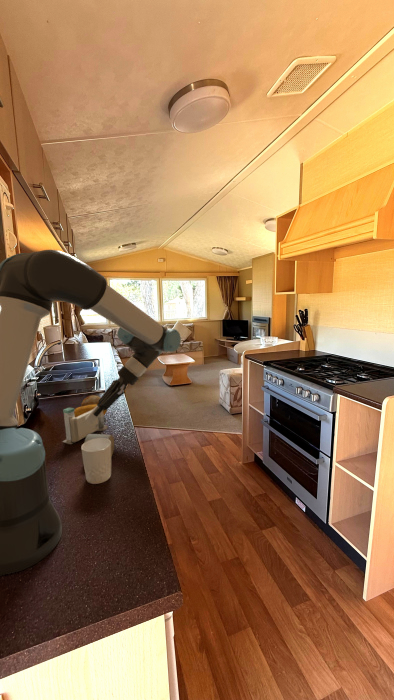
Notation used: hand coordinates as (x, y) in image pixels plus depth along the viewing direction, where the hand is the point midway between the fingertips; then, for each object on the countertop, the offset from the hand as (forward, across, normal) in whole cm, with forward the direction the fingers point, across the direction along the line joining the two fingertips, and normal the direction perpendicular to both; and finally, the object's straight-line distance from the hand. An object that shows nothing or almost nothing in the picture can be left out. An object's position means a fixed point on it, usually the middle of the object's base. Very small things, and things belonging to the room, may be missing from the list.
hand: (88, 421), depth 108 cm
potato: (+4, +18, -6) cm, 19 cm away
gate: (+5, +2, -3) cm, 6 cm away
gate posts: (+5, +4, -4) cm, 7 cm away
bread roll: (+3, +32, -7) cm, 33 cm away
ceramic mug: (+3, -14, -6) cm, 16 cm away
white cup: (+4, -27, -5) cm, 28 cm away
